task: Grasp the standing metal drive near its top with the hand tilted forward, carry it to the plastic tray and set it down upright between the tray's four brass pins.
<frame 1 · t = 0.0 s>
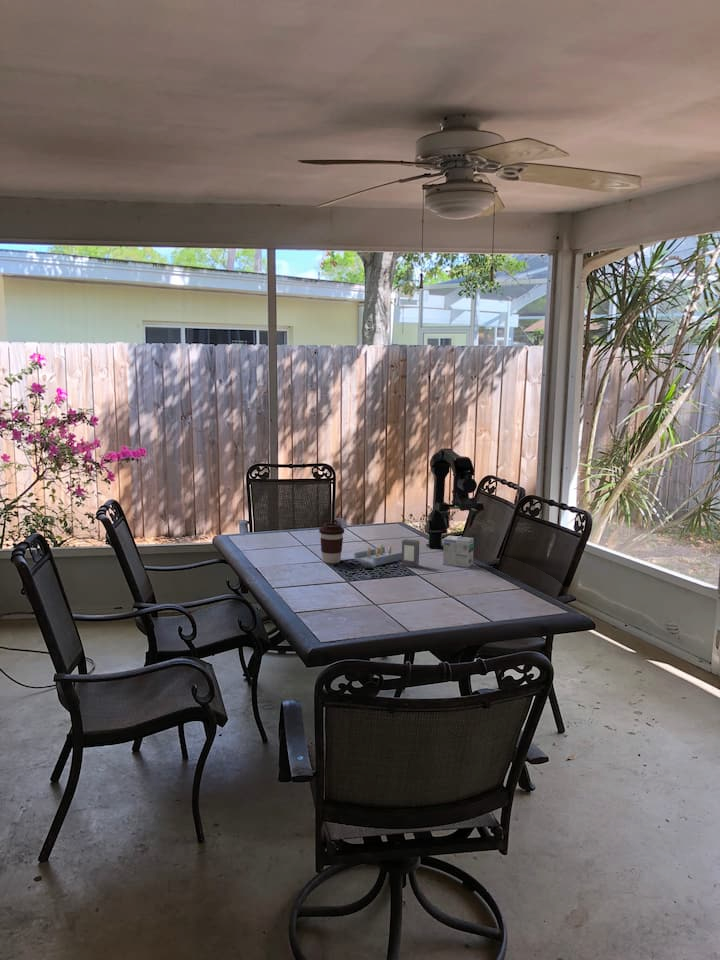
hand: (458, 527, 301), 15 cm above the table, tool pointing down, fingers open, 9 cm apart
drive: (410, 565, 299), on the table
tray: (379, 559, 308), on the table
light bulb box: (457, 564, 303), on the table
coffee cup: (331, 561, 303), on the table
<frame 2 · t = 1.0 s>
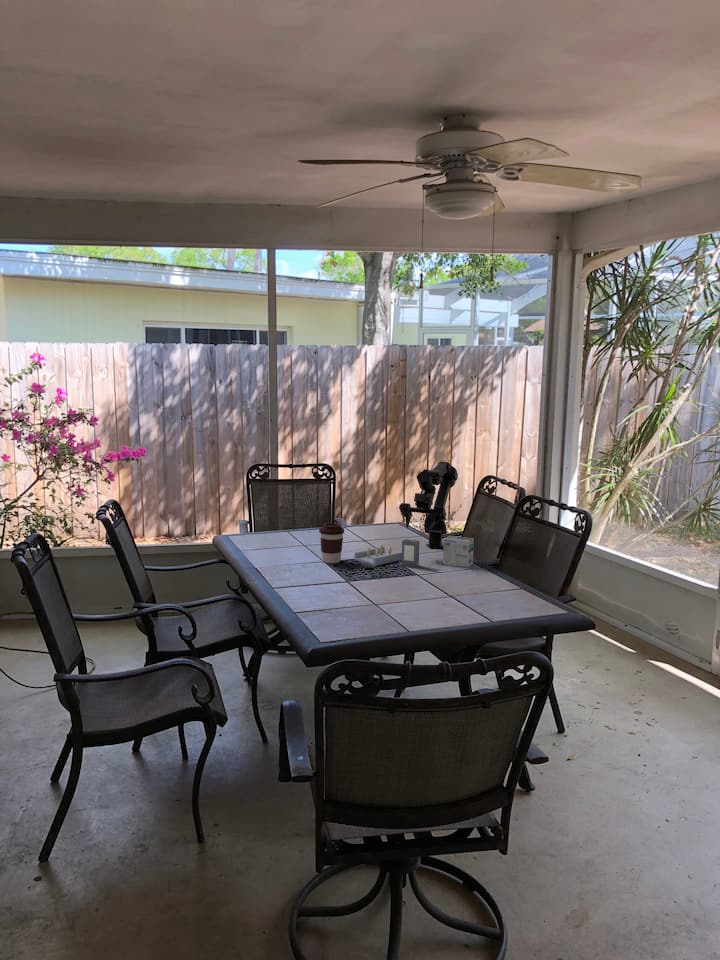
hand: (417, 528, 305), 13 cm above the table, tool tilted 45°, fingers open, 9 cm apart
nothing on the table moved.
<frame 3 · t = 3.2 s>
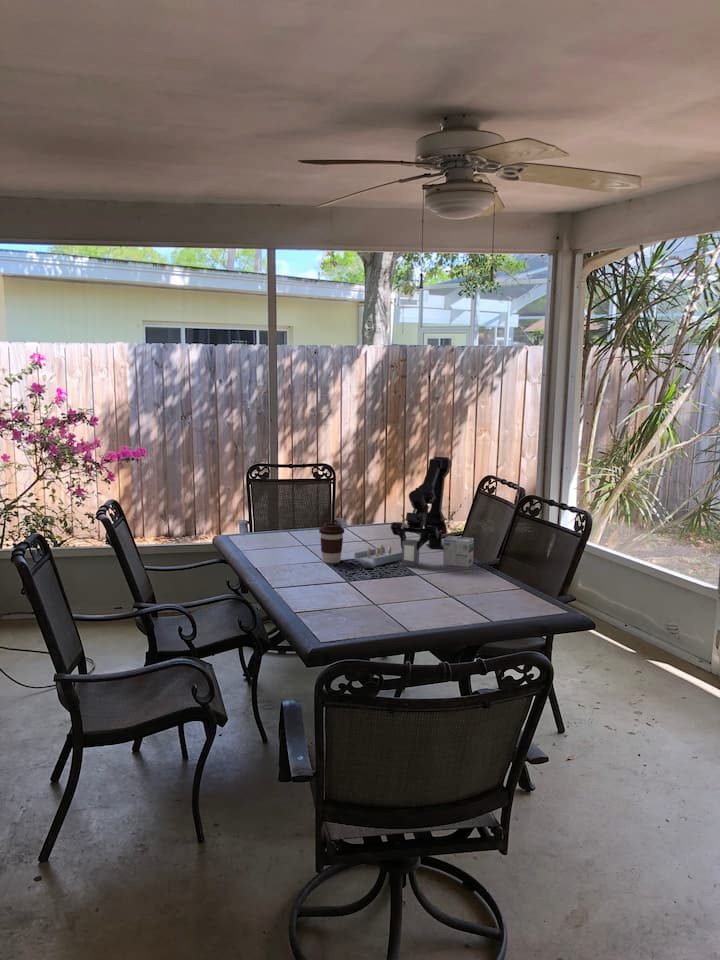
hand: (409, 548, 297), 7 cm above the table, tool tilted 45°, fingers closed on drive, 6 cm apart
drive: (410, 565, 299), on the table, touching gripper
everything else where it was.
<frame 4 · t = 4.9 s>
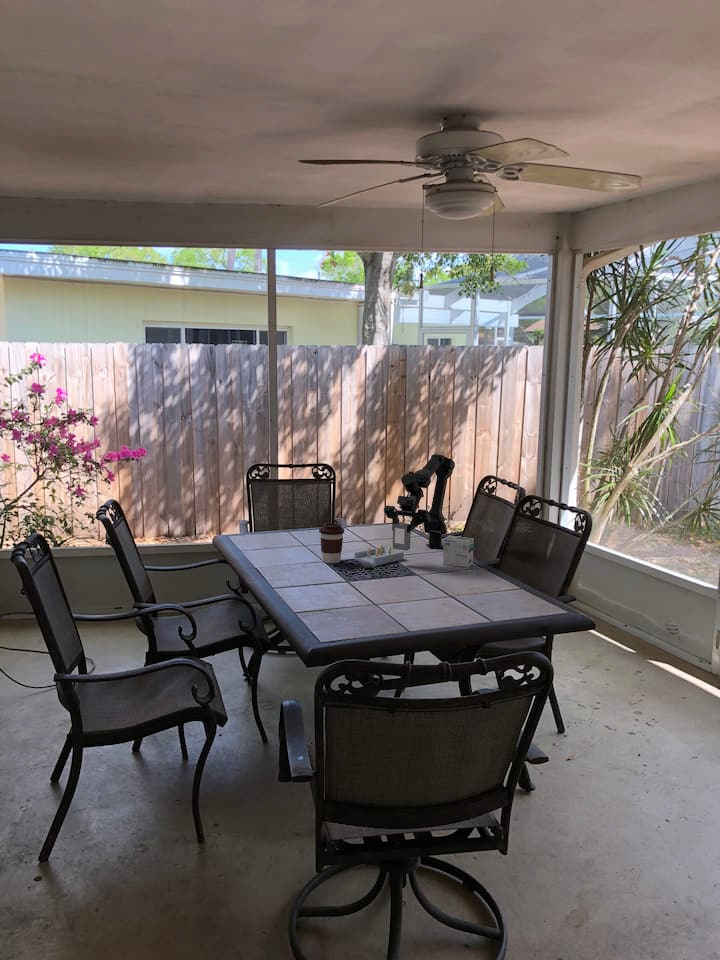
hand: (400, 531, 298), 13 cm above the table, tool tilted 45°, fingers closed on drive, 6 cm apart
drive: (401, 548, 300), point 6 cm above the table, touching gripper
everything else where it was.
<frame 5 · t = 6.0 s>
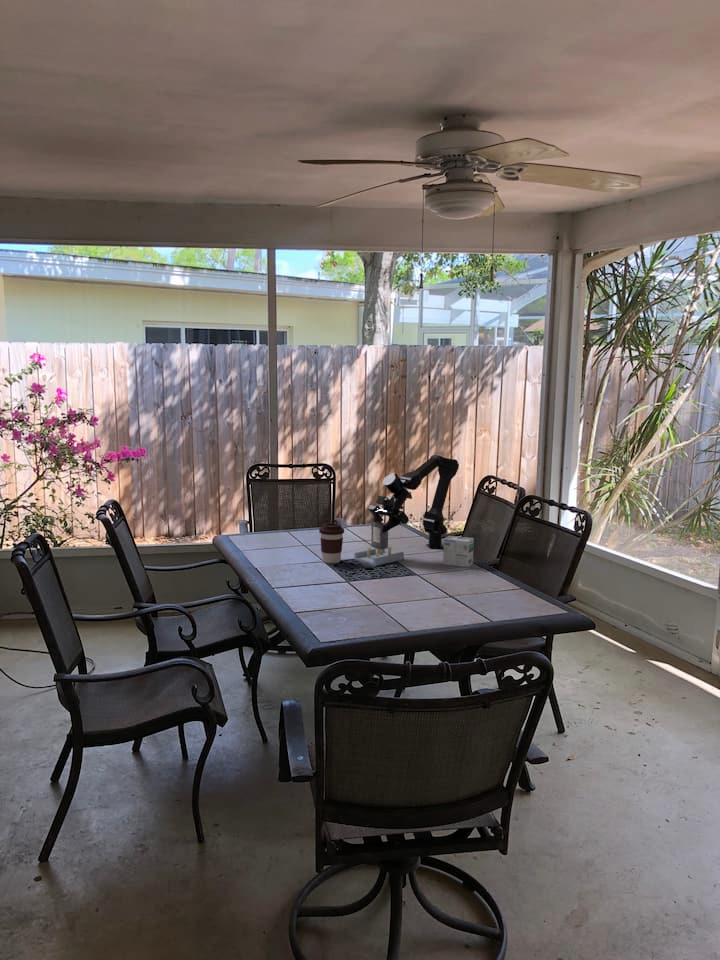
hand: (377, 530, 305), 12 cm above the table, tool tilted 45°, fingers closed on drive, 6 cm apart
drive: (379, 547, 307), point 5 cm above the table, touching gripper
everything else where it was.
when the fingers open (9 cm above the table, at t = 6.9 s): drive stays where it is, resting on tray.
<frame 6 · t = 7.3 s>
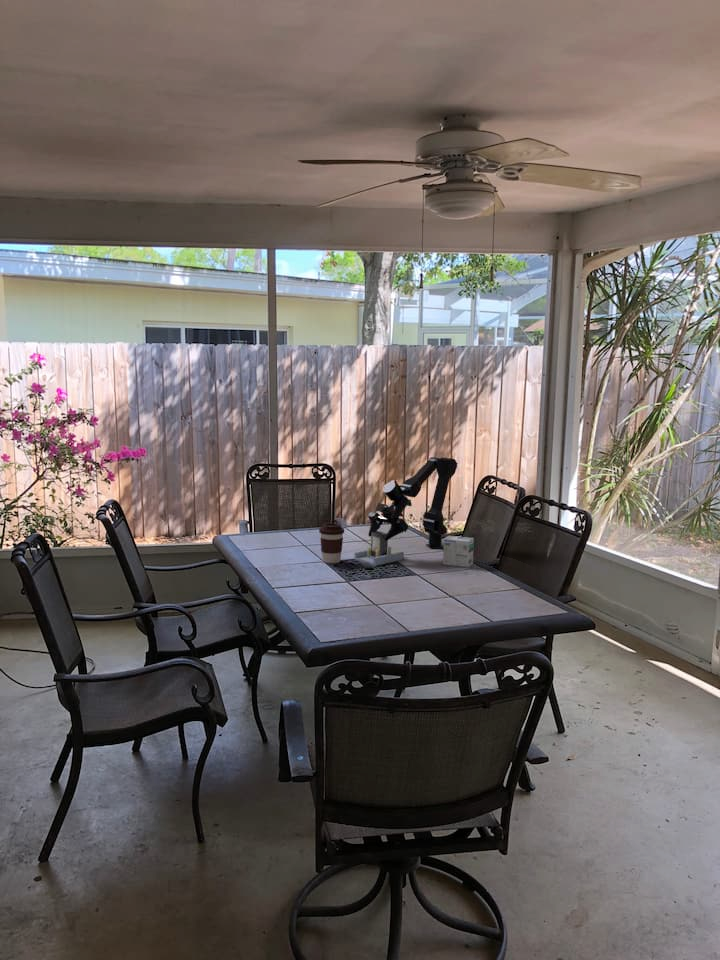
hand: (377, 538, 305), 9 cm above the table, tool tilted 45°, fingers open, 9 cm apart
drive: (379, 557, 308), point 1 cm above the table, touching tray
everything else where it was.
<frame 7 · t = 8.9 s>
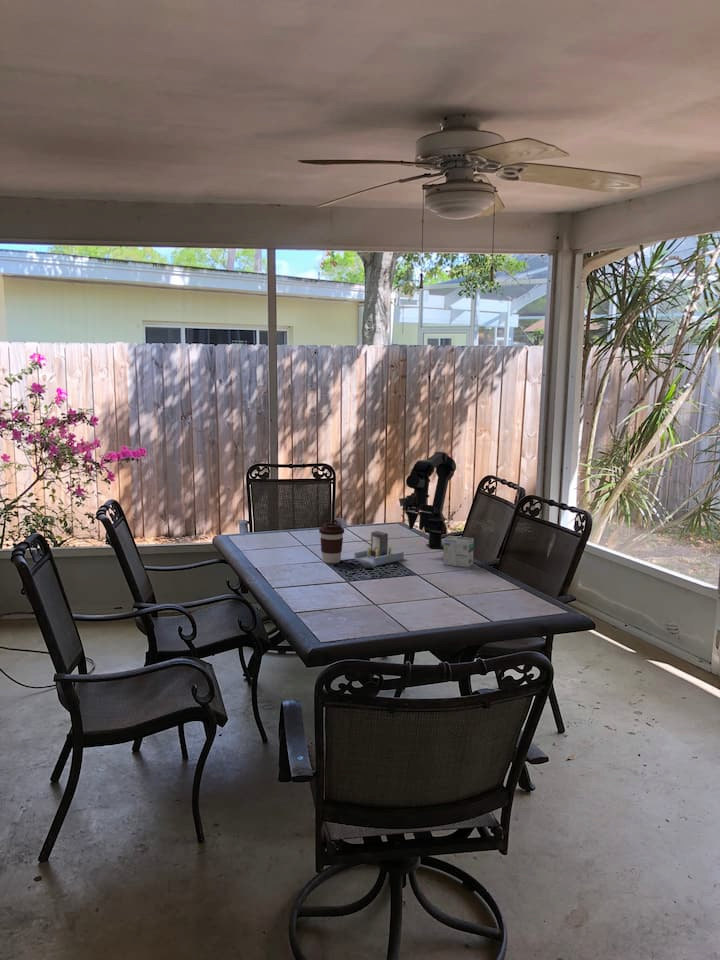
hand: (415, 529, 309), 12 cm above the table, tool tilted 15°, fingers open, 9 cm apart
nothing on the table moved.
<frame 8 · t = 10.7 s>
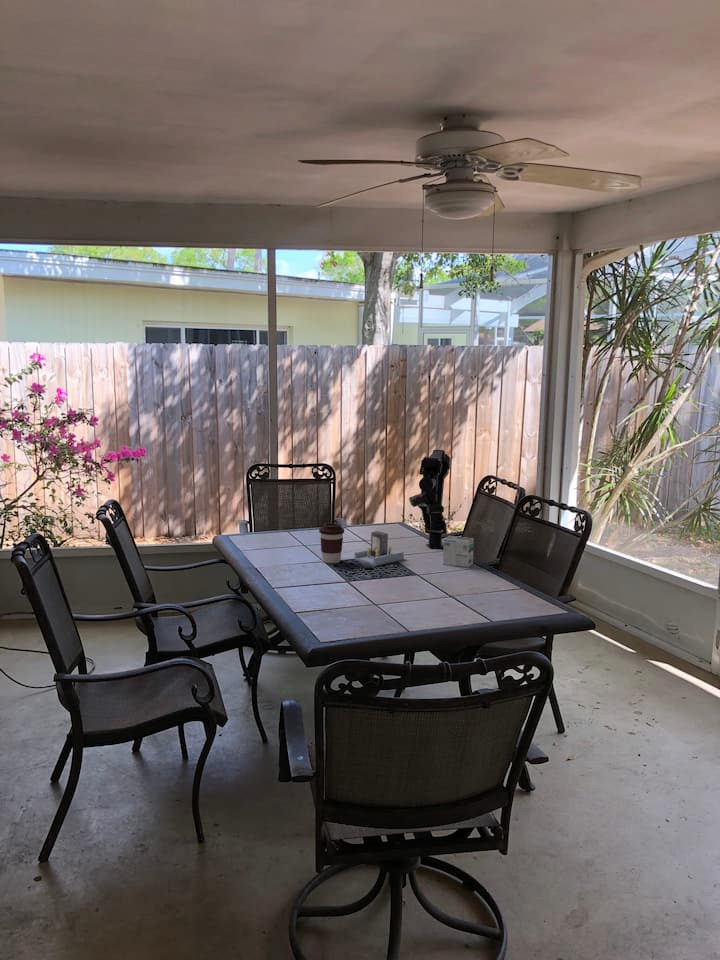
hand: (429, 525, 312), 13 cm above the table, tool pointing down, fingers open, 9 cm apart
nothing on the table moved.
at the end: drive inside the target area on the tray (0.0 cm from its centre), point 1.0 cm above the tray's base; drive tilted 0°; the gripper is holding nothing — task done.
